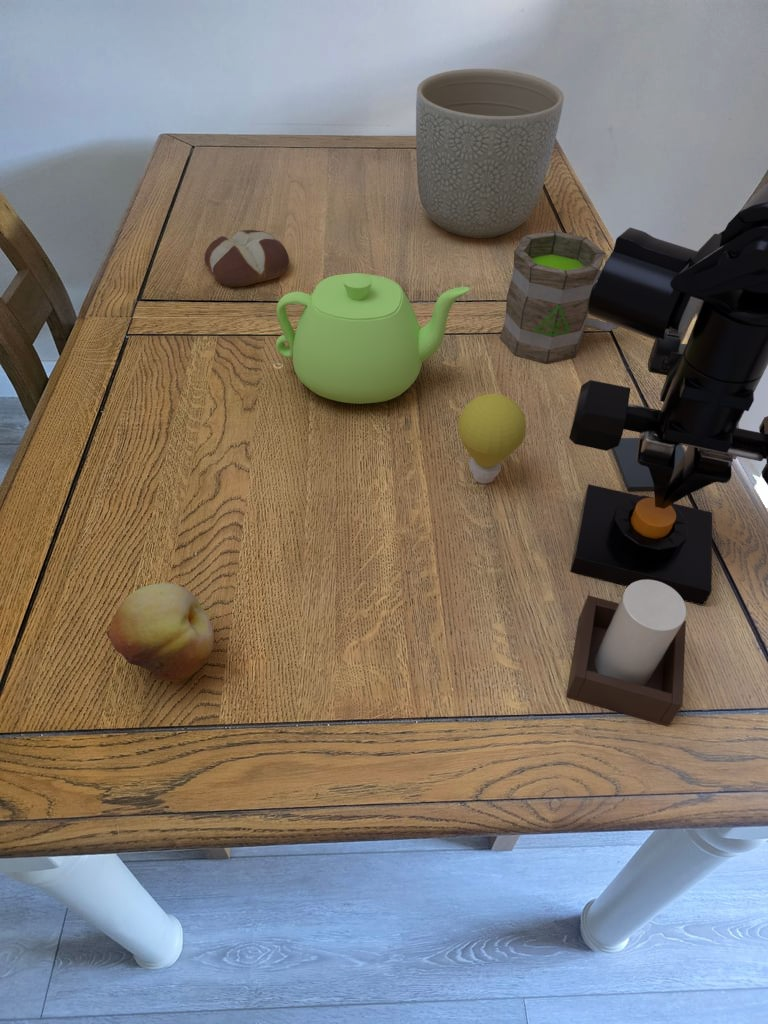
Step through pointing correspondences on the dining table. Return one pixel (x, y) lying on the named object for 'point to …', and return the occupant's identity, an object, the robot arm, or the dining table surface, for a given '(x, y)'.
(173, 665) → the fruit
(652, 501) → the button
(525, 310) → the mug
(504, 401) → the light bulb
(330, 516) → the dining table surface
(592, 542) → the base
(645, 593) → the canister
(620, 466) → the mat
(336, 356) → the teapot
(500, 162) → the planter
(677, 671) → the holder
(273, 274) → the bread
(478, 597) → the dining table surface
